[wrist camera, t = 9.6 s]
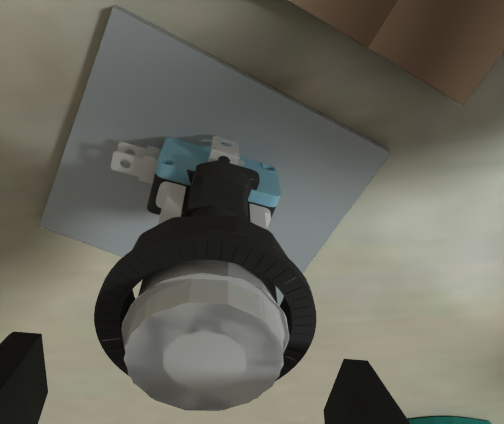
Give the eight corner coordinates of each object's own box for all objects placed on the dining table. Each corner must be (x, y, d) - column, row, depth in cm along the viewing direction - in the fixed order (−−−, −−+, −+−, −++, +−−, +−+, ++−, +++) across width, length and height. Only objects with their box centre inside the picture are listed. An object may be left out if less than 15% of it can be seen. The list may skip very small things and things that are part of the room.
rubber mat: (387, 148, 19) (390, 153, 18) (272, 305, 23) (273, 312, 23) (116, 5, 15) (112, 6, 15) (42, 220, 20) (39, 225, 19)
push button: (110, 198, 19) (9, 405, 10) (133, 78, 16) (25, 221, 8) (256, 234, 20) (276, 446, 12) (298, 129, 18) (364, 300, 9)
